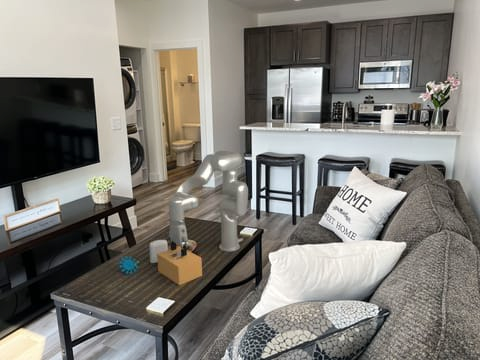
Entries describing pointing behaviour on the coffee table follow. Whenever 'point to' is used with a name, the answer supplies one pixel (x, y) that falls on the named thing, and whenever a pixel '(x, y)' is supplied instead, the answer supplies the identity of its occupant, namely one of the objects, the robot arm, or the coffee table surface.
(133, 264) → the gear
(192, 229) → the coffee table surface
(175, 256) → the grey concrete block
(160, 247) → the photo printer
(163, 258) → the tissue box
